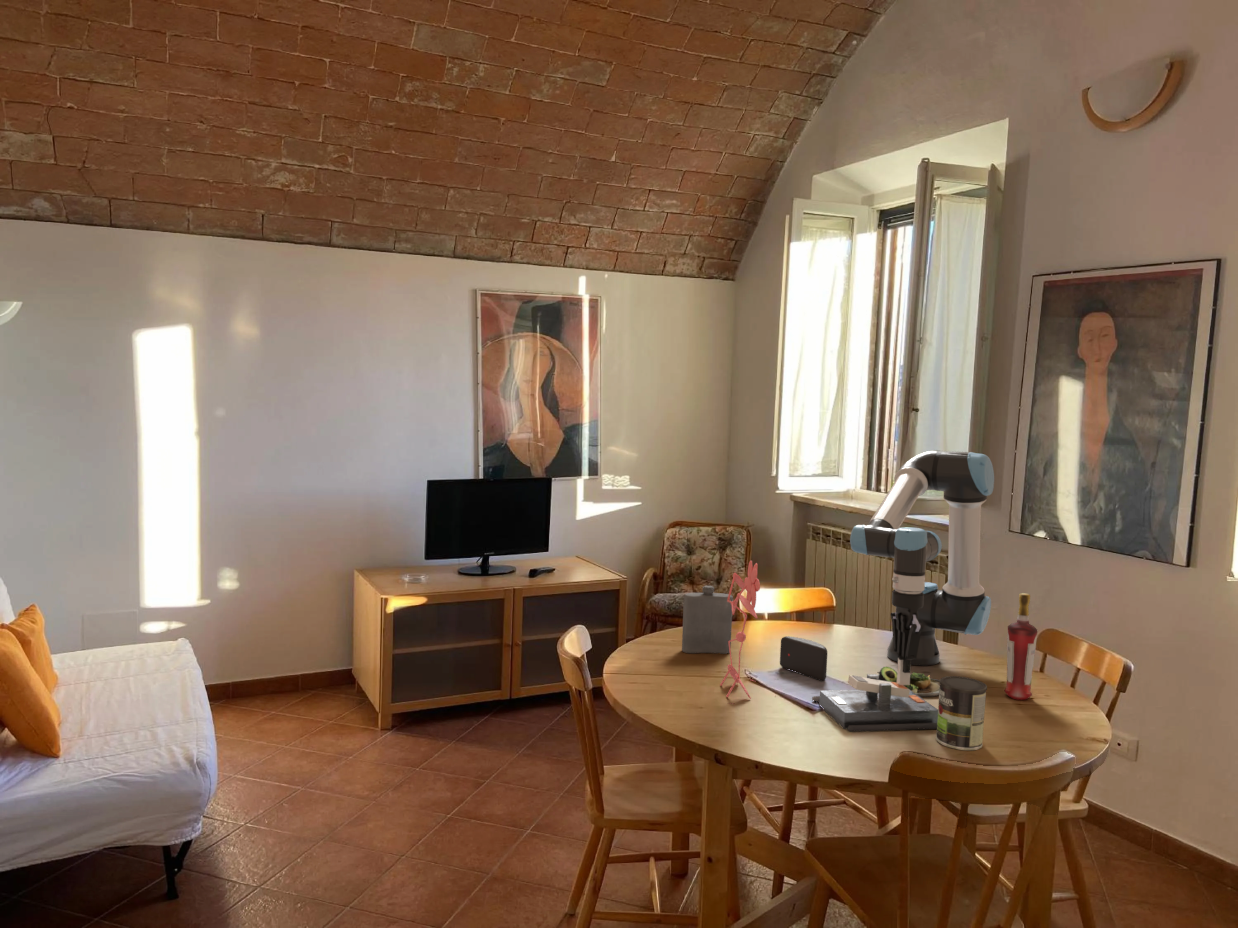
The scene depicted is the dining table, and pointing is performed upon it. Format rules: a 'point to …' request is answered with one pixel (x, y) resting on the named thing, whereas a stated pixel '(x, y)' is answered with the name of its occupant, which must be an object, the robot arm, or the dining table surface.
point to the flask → (707, 622)
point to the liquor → (1020, 653)
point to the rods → (887, 725)
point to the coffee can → (961, 713)
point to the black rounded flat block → (804, 657)
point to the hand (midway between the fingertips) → (903, 683)
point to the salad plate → (912, 682)
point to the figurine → (751, 587)
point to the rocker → (877, 686)
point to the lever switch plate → (876, 707)
